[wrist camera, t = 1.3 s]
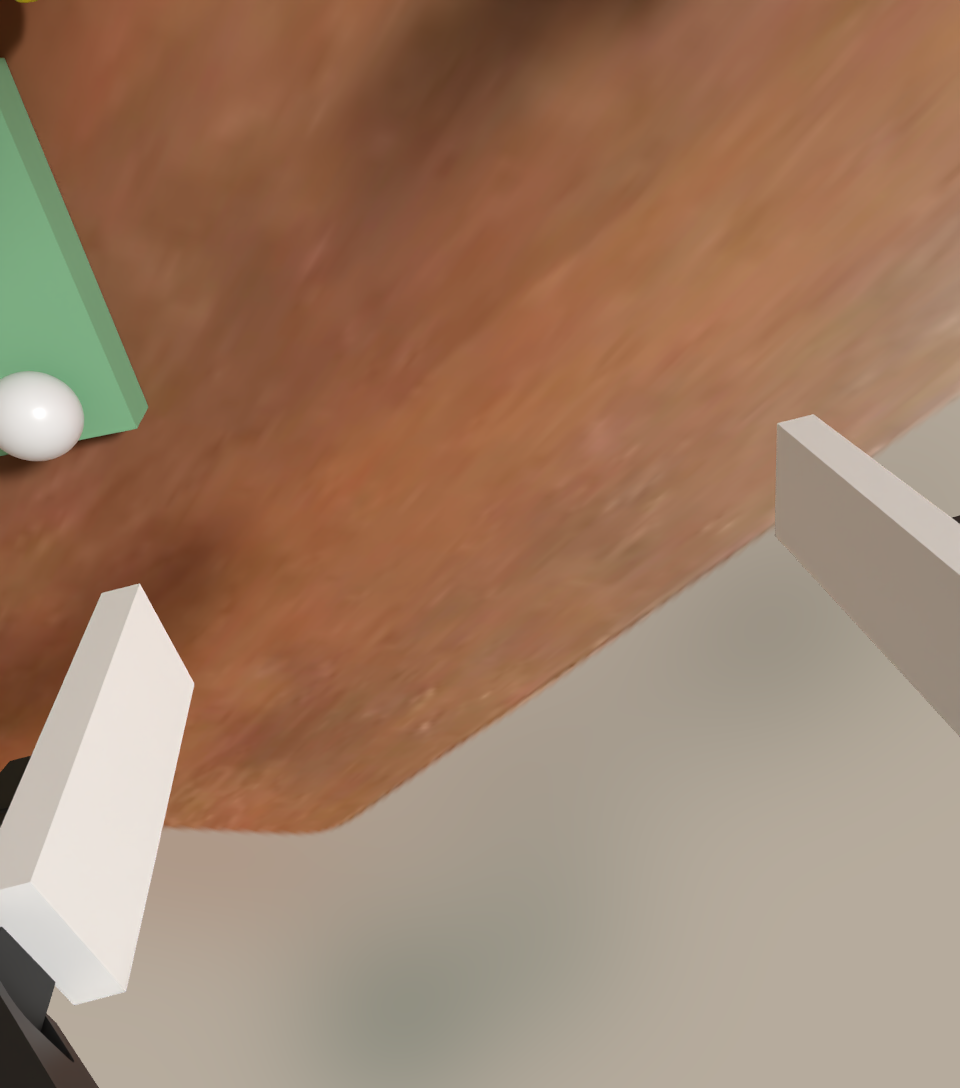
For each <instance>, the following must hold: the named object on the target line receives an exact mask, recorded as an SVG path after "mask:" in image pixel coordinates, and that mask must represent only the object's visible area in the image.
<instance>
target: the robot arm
mask: <svg viewBox="0 0 960 1088" xmlns="http://www.w3.org/2000/svg"><path fill="white" fill-rule="evenodd" d="M775 536H776V537H777V538H778V539H779V540H780V542H781V543H782V544H783V545H784V546H785V547H786V548H787V549H788V550H789V551H790V553H791V554H792V555H793V556H794V557H795V558H796V559H797V560H798V561H799V562H800V563H801V564H802V566H803V567H804V568H805V569H806V570H807V571H808V572H809V573H810V574H811V575H812V576H813V578H814V579H815V580H816V581H817V582H818V583H819V584H820V585H821V586H822V587H823V588H824V590H825V591H826V592H827V593H828V594H829V595H830V596H831V597H832V598H833V599H834V600H835V601H836V603H837V604H838V605H839V606H840V607H841V608H842V609H843V610H844V611H845V612H846V613H847V615H848V616H849V617H850V618H851V619H852V620H853V621H854V622H855V623H856V624H857V625H858V626H859V628H860V629H861V630H862V631H863V632H864V633H865V634H866V635H867V636H868V637H869V639H871V641H872V642H873V643H874V644H875V645H876V646H877V647H878V648H879V649H880V650H881V652H882V653H883V654H884V655H885V656H886V657H887V658H888V659H889V660H890V661H891V662H892V664H893V665H894V666H895V667H896V668H897V669H898V670H899V671H900V672H901V673H902V674H903V676H904V677H905V678H906V679H907V680H908V681H909V682H910V683H911V684H912V685H913V686H914V688H915V689H916V690H917V691H918V692H919V693H920V694H921V695H922V696H923V697H924V698H925V699H926V701H927V702H928V703H929V704H930V705H931V706H932V707H933V708H934V709H935V710H936V711H937V713H938V714H939V715H940V716H941V717H942V718H943V719H944V720H945V721H946V722H947V723H948V725H949V726H950V727H951V728H952V729H953V730H954V731H955V732H956V733H957V734H958V735H959V737H960V516H957V517H953V518H951V517H950V516H949V515H947V514H946V513H944V512H943V511H942V510H941V509H939V508H938V507H936V506H935V505H934V504H932V503H931V502H930V501H928V500H927V499H926V498H924V497H923V496H922V495H920V494H919V493H918V492H916V491H915V490H914V489H912V488H911V487H910V486H908V485H907V484H906V483H904V482H903V481H902V480H900V479H899V478H898V477H896V476H895V475H894V474H892V473H891V472H890V471H888V470H887V469H886V468H884V467H883V466H882V465H880V464H879V463H877V462H876V461H875V460H874V459H872V458H871V457H870V456H868V455H867V454H866V453H864V452H863V451H862V450H860V449H859V448H858V447H856V446H855V445H854V444H852V443H851V442H850V441H848V440H847V439H846V438H844V437H843V436H842V435H840V434H839V433H838V432H836V431H835V430H834V429H832V428H831V427H830V426H828V425H827V424H826V423H824V422H823V421H822V420H820V419H819V418H818V417H816V416H815V415H814V414H813V415H809V416H805V417H801V418H797V419H793V420H789V421H785V422H781V423H777V456H776V505H775ZM193 688H194V682H193V680H192V678H191V677H190V675H189V673H188V671H187V669H186V667H185V666H184V664H183V662H182V660H181V658H180V656H179V655H178V653H177V651H176V649H175V647H174V645H173V644H172V642H171V640H170V638H169V636H168V634H167V633H166V631H165V629H164V627H163V625H162V623H161V622H160V620H159V618H158V616H157V614H156V612H155V611H154V609H153V607H152V605H151V603H150V601H149V600H148V598H147V596H146V594H145V592H144V590H143V589H142V587H141V585H140V584H136V585H132V586H128V587H124V588H120V589H116V590H112V591H108V592H104V593H101V596H100V598H99V600H98V603H97V605H96V607H95V610H94V612H93V614H92V617H91V619H90V621H89V624H88V626H87V628H86V631H85V633H84V635H83V637H82V640H81V642H80V644H79V647H78V649H77V651H76V654H75V656H74V658H73V661H72V663H71V665H70V668H69V670H68V672H67V675H66V677H65V679H64V681H63V684H62V686H61V688H60V691H59V693H58V695H57V698H56V700H55V702H54V705H53V707H52V709H51V712H50V714H49V716H48V719H47V721H46V723H45V725H44V728H43V730H42V732H41V735H40V737H39V739H38V742H37V744H36V746H35V749H34V751H33V753H32V756H28V757H24V758H20V759H16V760H13V761H10V762H9V763H8V764H7V765H6V766H5V768H4V769H3V770H2V771H1V772H0V1088H99V1087H98V1086H97V1084H96V1083H95V1081H94V1080H93V1078H92V1077H91V1075H90V1074H89V1072H88V1071H87V1069H86V1068H85V1066H84V1065H83V1063H82V1062H81V1060H80V1058H79V1057H78V1055H77V1054H76V1053H75V1051H74V1049H73V1048H72V1046H71V1045H70V1043H69V1042H68V1040H67V1039H66V1037H65V1036H64V1034H63V1033H62V1031H61V1030H60V1028H59V1026H58V1025H57V1023H56V1022H55V1021H53V1019H51V1017H50V1016H48V1015H47V1014H46V1012H47V1009H48V1006H49V1002H50V999H51V996H52V992H53V989H54V986H56V987H57V988H58V989H59V990H60V991H61V992H62V993H63V994H64V995H65V996H66V997H67V998H68V999H69V1000H70V1002H71V1003H72V1004H73V1005H78V1004H81V1003H85V1002H89V1001H93V1000H96V999H100V998H104V997H108V996H111V995H115V994H119V993H123V992H126V990H127V985H128V980H129V976H130V972H131V967H132V962H133V958H134V953H135V949H136V944H137V940H138V935H139V931H140V926H141V922H142V917H143V913H144V908H145V903H146V899H147V895H148V890H149V886H150V881H151V877H152V872H153V868H154V863H155V859H156V854H157V850H158V845H159V841H160V836H161V832H162V827H163V823H164V818H165V814H166V809H167V805H168V800H169V796H170V791H171V787H172V782H173V778H174V773H175V769H176V764H177V760H178V755H179V751H180V746H181V742H182V737H183V733H184V728H185V724H186V719H187V715H188V710H189V706H190V701H191V697H192V692H193Z"/></svg>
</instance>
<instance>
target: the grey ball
mask: <svg viewBox="0 0 960 1088" xmlns="http://www.w3.org/2000/svg"><path fill="white" fill-rule="evenodd" d="M83 427H84V413H83V408H82V405H81V403H80V401H79V399H78V397H77V396H76V394H75V393H74V392H73V391H72V389H71V388H70V387H69V386H67V385H66V384H65V383H64V382H62V381H61V380H59V379H57V378H55V377H53V376H51V375H48V374H45V373H41V372H35V371H23V372H17V373H13V374H10V375H8V376H5V377H3V378H2V379H0V448H1V449H2V450H3V451H5V452H6V453H8V454H10V455H12V456H14V457H17V458H19V459H23V460H28V461H46V460H51V459H54V458H57V457H59V456H61V455H63V454H65V453H66V452H68V451H69V450H70V449H72V447H73V446H74V445H75V444H76V443H77V442H78V440H79V438H80V436H81V434H82V431H83Z"/></svg>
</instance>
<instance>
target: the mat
mask: <svg viewBox="0 0 960 1088" xmlns="http://www.w3.org/2000/svg"><path fill="white" fill-rule="evenodd" d="M23 371H35V372H41V373H45V374H48V375H51V376H53V377H55V378H57V379H59V380H61V381H62V382H64V383H65V384H66V385H67V386H69V387H70V388H71V389H72V391H73V392H74V393H75V394H76V396H77V397H78V399H79V401H80V403H81V405H82V408H83V413H84V427H83V431H82V434H81V436H80V438H79V440H82V439H87V438H92V437H97V436H102V435H107V434H112V433H117V432H122V431H127V430H132V429H137V428H138V426H139V424H140V422H141V420H142V418H143V416H144V414H145V412H146V411H147V409H148V405H147V403H146V400H145V398H144V395H143V393H142V390H141V388H140V386H139V383H138V381H137V378H136V376H135V373H134V371H133V369H132V366H131V364H130V361H129V359H128V356H127V354H126V352H125V349H124V347H123V344H122V342H121V340H120V337H119V335H118V332H117V330H116V327H115V325H114V323H113V320H112V318H111V315H110V313H109V310H108V308H107V306H106V303H105V301H104V298H103V296H102V293H101V291H100V289H99V286H98V284H97V281H96V279H95V276H94V274H93V272H92V269H91V267H90V264H89V262H88V259H87V257H86V255H85V252H84V250H83V247H82V245H81V242H80V240H79V238H78V235H77V233H76V230H75V228H74V225H73V223H72V221H71V218H70V216H69V213H68V211H67V209H66V206H65V204H64V201H63V199H62V196H61V194H60V192H59V189H58V187H57V184H56V182H55V179H54V177H53V175H52V172H51V170H50V167H49V165H48V162H47V160H46V158H45V155H44V153H43V150H42V148H41V145H40V143H39V141H38V138H37V136H36V133H35V131H34V128H33V126H32V124H31V121H30V119H29V116H28V114H27V111H26V109H25V107H24V104H23V102H22V99H21V97H20V94H19V92H18V90H17V87H16V85H15V82H14V80H13V78H12V75H11V73H10V70H9V68H8V65H7V63H6V61H5V58H0V379H2V378H3V377H5V376H8V375H10V374H13V373H17V372H23ZM3 455H8V453H6V452H5V451H3V450H2V449H1V448H0V456H3Z"/></svg>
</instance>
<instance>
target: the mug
mask: <svg viewBox="0 0 960 1088" xmlns="http://www.w3.org/2000/svg"><path fill="white" fill-rule="evenodd" d="M16 1H18V2H21V3H28V2H35V1H37V0H16Z"/></svg>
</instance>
